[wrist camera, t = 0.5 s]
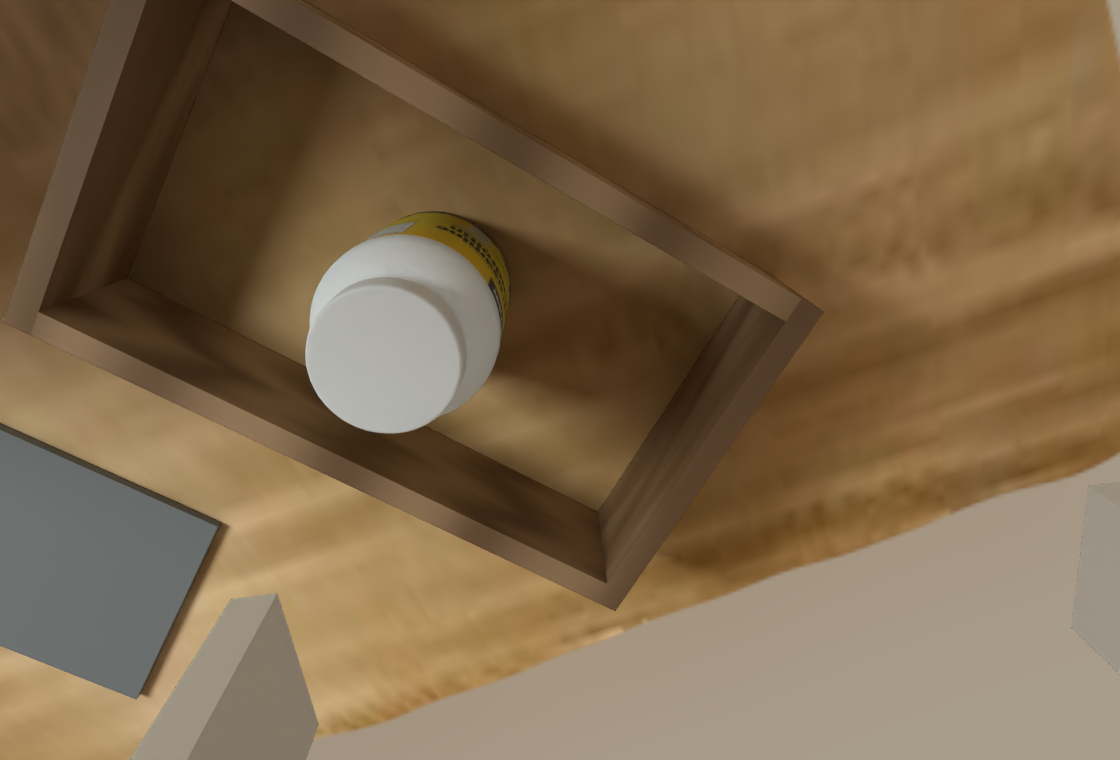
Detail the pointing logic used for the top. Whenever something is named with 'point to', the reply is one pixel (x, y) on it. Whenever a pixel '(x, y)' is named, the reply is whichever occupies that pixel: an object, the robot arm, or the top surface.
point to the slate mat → (90, 564)
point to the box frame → (284, 386)
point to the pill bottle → (408, 323)
